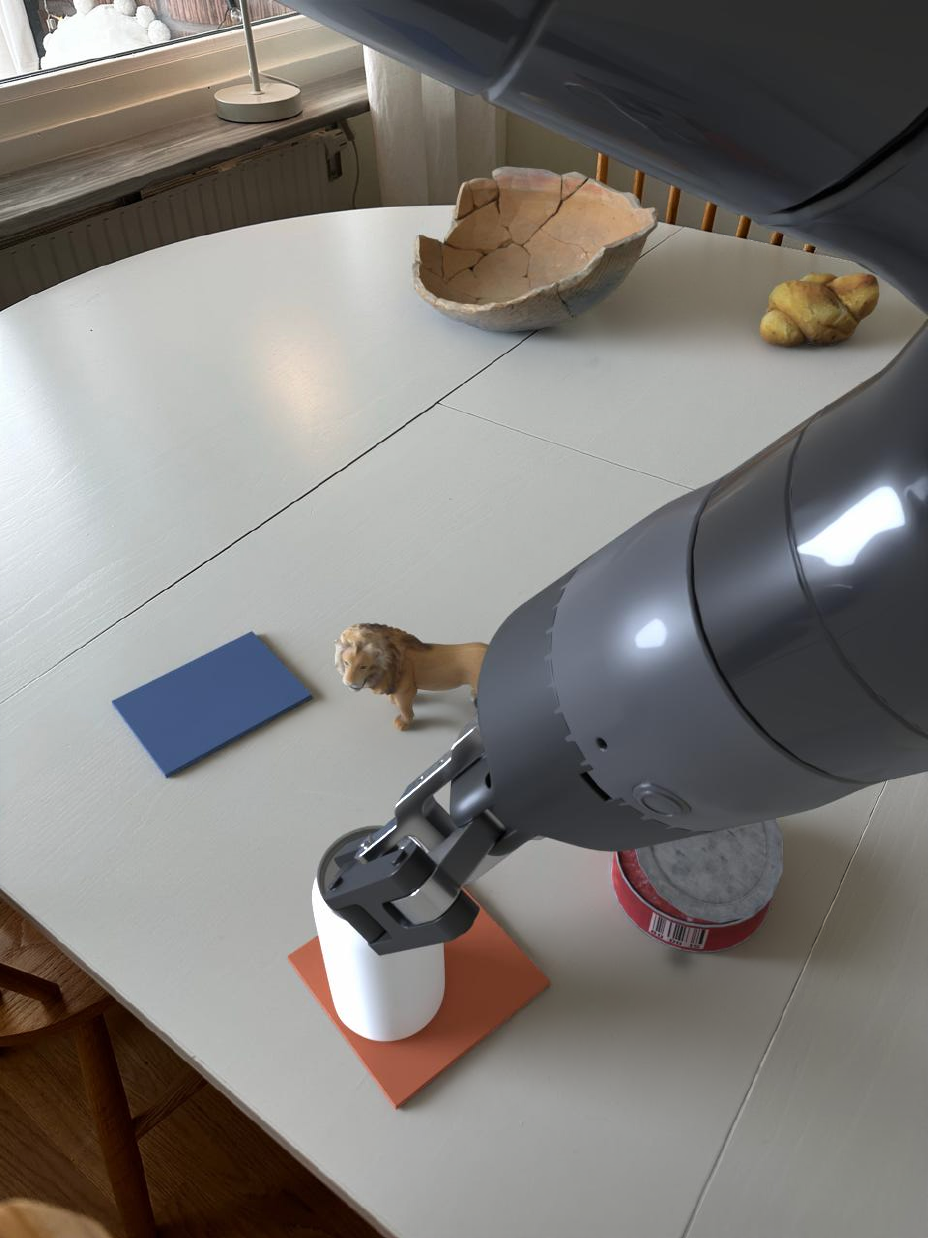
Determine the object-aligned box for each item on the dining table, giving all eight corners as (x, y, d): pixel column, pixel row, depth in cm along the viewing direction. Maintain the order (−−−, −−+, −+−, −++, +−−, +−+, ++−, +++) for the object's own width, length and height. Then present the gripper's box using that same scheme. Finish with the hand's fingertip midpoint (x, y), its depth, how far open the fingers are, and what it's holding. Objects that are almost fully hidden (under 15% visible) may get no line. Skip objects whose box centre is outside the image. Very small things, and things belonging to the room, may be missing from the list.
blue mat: (166, 778, 68) (165, 775, 68) (112, 704, 73) (111, 700, 73) (312, 697, 73) (312, 694, 73) (252, 634, 79) (252, 630, 78)
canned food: (720, 867, 67) (817, 785, 62) (728, 998, 59) (841, 918, 54) (580, 796, 66) (667, 705, 60) (569, 921, 58) (668, 830, 52)
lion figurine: (343, 749, 70) (330, 660, 64) (343, 694, 74) (330, 606, 68) (547, 733, 71) (553, 643, 65) (536, 680, 75) (541, 591, 68)
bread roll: (775, 362, 110) (790, 294, 105) (734, 325, 117) (746, 259, 112) (874, 345, 113) (894, 278, 108) (828, 310, 120) (844, 245, 115)
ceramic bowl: (357, 295, 120) (366, 165, 112) (496, 265, 138) (512, 150, 130) (550, 380, 106) (577, 238, 97) (677, 334, 124) (709, 211, 115)
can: (309, 995, 56) (279, 879, 48) (387, 917, 59) (372, 797, 51) (391, 1070, 53) (374, 959, 45) (468, 982, 56) (466, 865, 48)
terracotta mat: (396, 1110, 52) (396, 1107, 51) (287, 959, 58) (286, 956, 58) (550, 984, 57) (550, 981, 56) (434, 858, 63) (434, 855, 63)
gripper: (719, 412, 27) (469, 606, 41) (402, 767, 20) (227, 860, 33) (896, 606, 28) (591, 734, 41) (654, 1024, 20) (380, 1011, 34)
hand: (429, 790), depth 37 cm, fingers open, 8 cm apart
